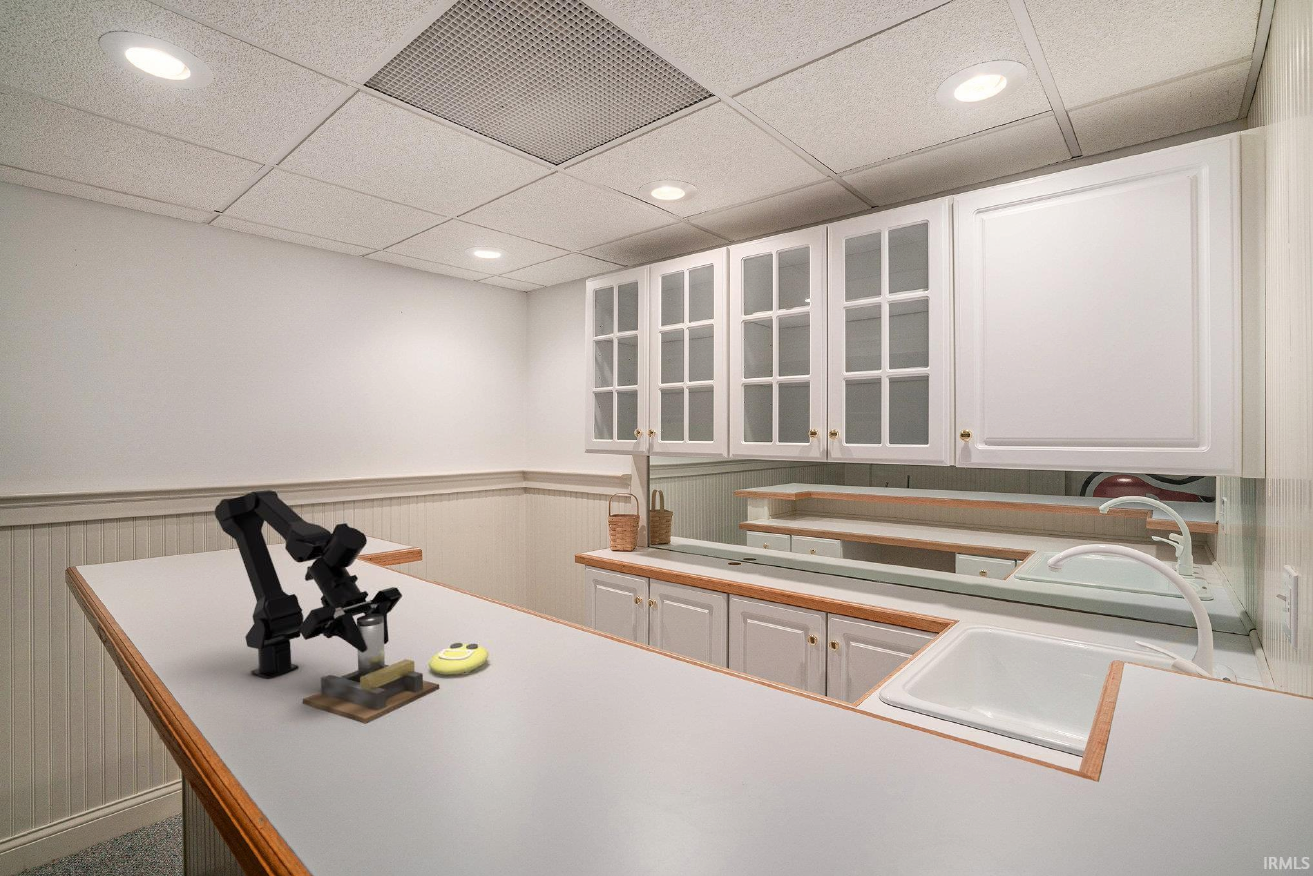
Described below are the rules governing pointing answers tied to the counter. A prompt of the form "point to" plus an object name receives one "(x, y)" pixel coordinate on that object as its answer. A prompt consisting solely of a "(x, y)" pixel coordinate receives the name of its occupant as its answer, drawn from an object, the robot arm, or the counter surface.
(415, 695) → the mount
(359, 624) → the metal canister
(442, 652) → the emoji
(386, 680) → the bar
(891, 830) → the counter surface
